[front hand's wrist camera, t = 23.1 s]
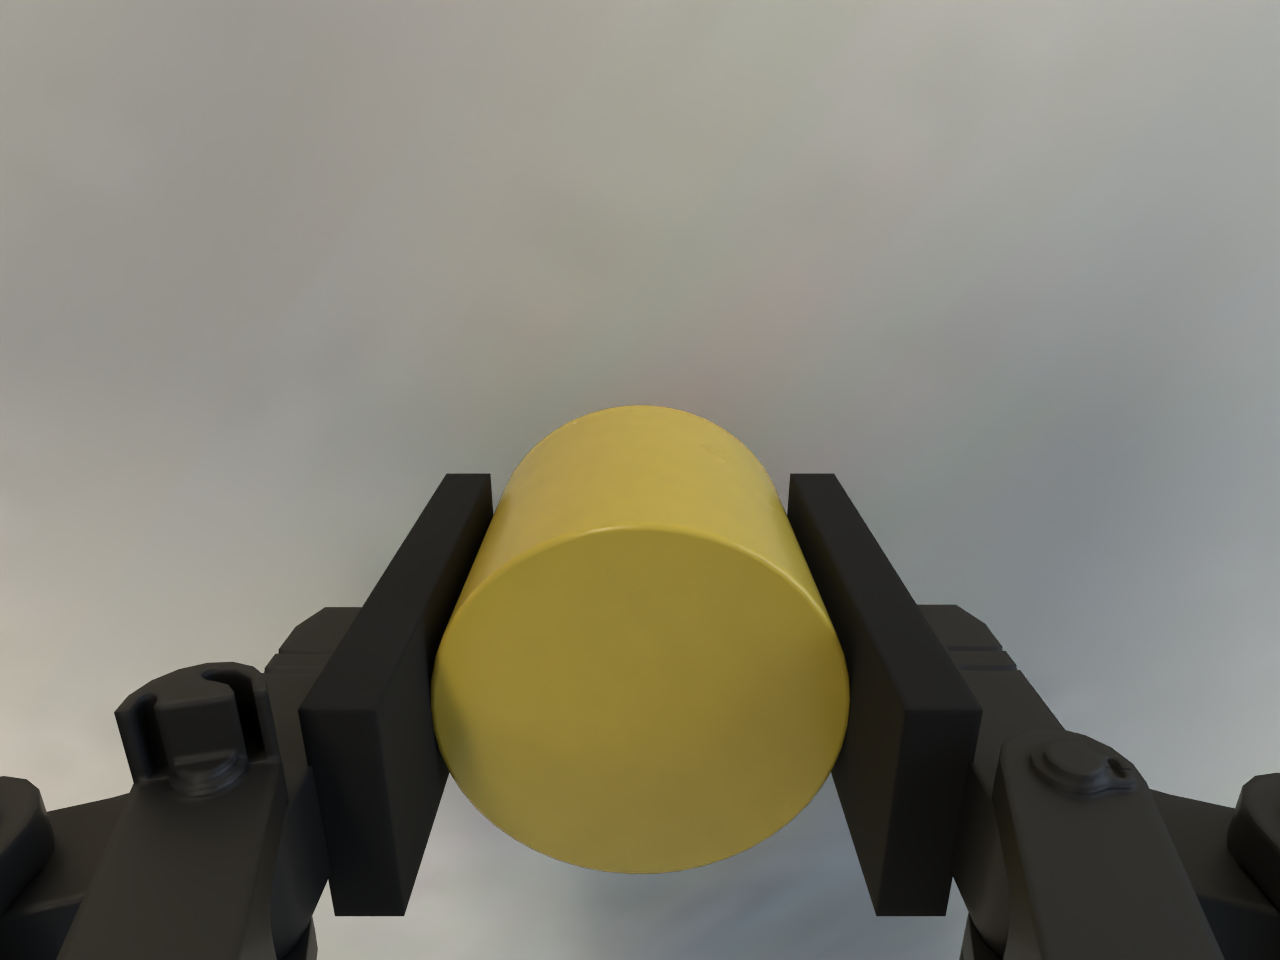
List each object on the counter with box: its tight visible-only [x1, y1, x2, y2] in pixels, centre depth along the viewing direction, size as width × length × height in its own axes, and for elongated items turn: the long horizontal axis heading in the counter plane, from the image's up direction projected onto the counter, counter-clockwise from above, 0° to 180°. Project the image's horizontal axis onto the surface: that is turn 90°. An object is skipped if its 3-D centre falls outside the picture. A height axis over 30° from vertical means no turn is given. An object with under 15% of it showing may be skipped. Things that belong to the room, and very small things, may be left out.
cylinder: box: [430, 405, 850, 874], centre depth 12 cm, size 5×5×5 cm
